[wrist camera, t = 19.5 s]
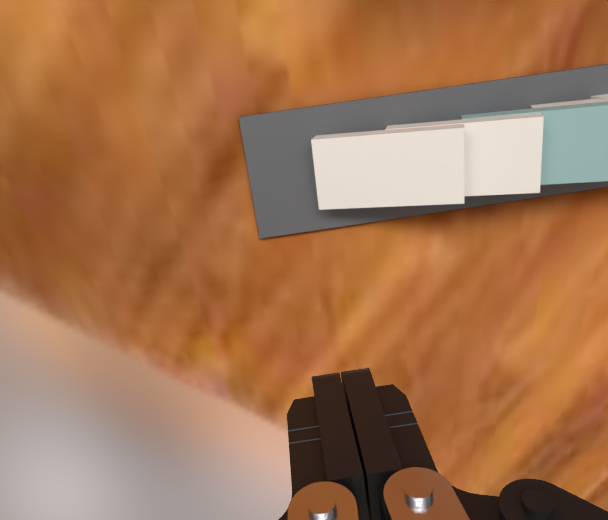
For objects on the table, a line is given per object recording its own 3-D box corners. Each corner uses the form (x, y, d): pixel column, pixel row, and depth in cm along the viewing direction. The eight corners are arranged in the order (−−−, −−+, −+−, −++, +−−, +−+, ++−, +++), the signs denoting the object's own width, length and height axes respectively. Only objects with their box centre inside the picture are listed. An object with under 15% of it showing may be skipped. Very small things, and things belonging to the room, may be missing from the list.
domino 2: (389, 199, 38) (539, 192, 35) (385, 129, 36) (543, 116, 33) (391, 193, 39) (536, 186, 37) (387, 125, 37) (539, 112, 35)
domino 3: (462, 189, 38) (619, 180, 35) (461, 118, 36) (626, 103, 33) (462, 183, 39) (613, 174, 37) (461, 115, 38) (619, 100, 35)
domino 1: (318, 209, 38) (464, 203, 35) (310, 139, 36) (464, 127, 33) (323, 203, 39) (463, 196, 37) (316, 135, 37) (463, 123, 35)
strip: (259, 236, 40) (259, 238, 40) (238, 117, 37) (238, 117, 36) (642, 180, 41) (645, 181, 40) (656, 57, 37) (660, 57, 37)
